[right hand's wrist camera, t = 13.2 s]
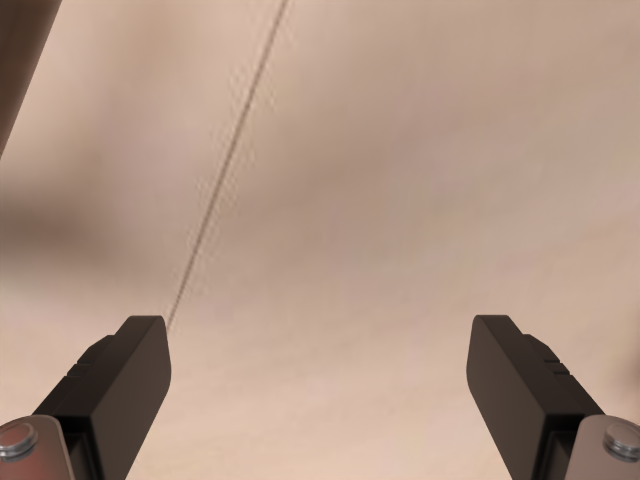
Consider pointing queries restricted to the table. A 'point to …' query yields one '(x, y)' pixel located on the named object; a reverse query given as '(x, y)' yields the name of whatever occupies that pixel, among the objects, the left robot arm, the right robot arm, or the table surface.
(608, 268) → the table surface
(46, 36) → the rod
